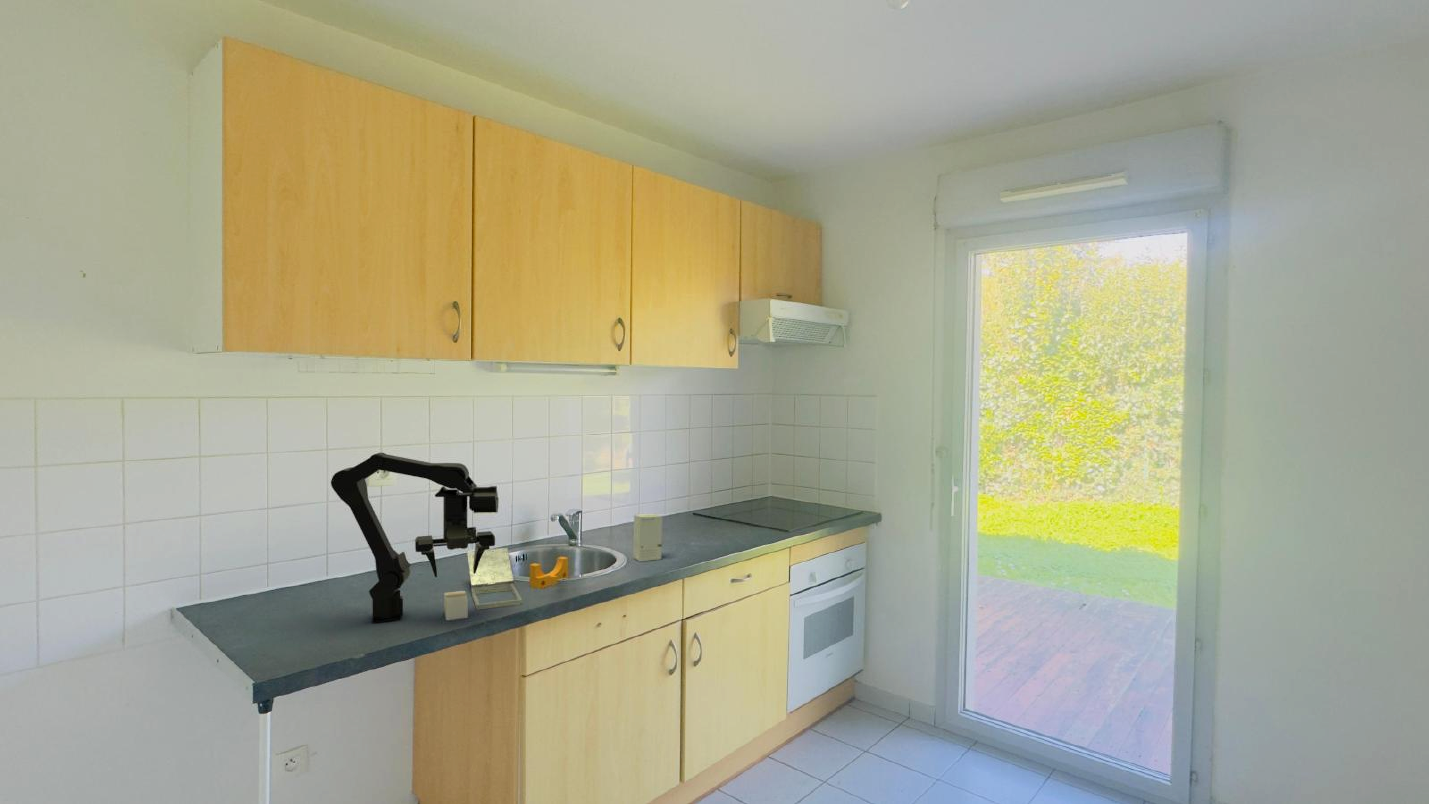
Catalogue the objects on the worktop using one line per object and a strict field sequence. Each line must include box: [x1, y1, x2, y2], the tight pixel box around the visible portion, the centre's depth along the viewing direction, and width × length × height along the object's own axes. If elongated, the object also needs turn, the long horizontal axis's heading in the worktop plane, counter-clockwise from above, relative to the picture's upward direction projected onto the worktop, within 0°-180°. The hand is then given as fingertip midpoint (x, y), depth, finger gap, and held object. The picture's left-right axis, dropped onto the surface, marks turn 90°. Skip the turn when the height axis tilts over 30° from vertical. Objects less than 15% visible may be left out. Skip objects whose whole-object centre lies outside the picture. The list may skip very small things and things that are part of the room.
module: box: [443, 590, 469, 621], centre depth 179 cm, size 5×7×5 cm
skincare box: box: [632, 513, 663, 563], centre depth 236 cm, size 8×6×15 cm
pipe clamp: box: [529, 556, 569, 590], centre depth 208 cm, size 12×4×6 cm, turn 141°
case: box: [466, 547, 523, 611], centre depth 198 cm, size 11×27×9 cm, turn 24°
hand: (455, 575), depth 179 cm, fingers open, 9 cm apart
